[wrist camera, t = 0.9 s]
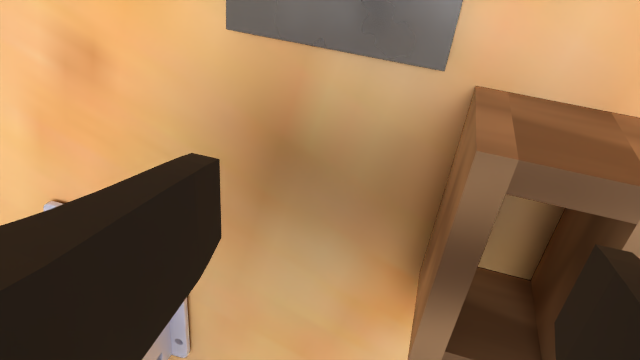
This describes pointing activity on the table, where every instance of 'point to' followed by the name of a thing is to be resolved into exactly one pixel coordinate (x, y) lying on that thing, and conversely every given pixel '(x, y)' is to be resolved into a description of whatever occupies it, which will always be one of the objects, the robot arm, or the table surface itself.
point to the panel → (356, 26)
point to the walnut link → (534, 184)
